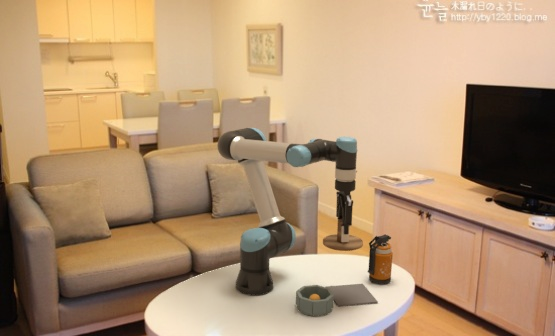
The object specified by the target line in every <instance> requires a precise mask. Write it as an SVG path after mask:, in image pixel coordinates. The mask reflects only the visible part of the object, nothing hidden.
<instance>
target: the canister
mask: <svg viewBox="0 0 555 336" xmlns="http://www.w3.org/2000/svg"><path fill="white" fill-rule="evenodd" d="M391 239H392V237H391V236H390V235H388V234H383V235H378V236H377V235H375V236H374V237H373V238H372V239H371V241H370V242H368V245H369V246H368V247H369V257H368V258H369V259H368V269H367V273H368V279H369V281H371V282H374V283H376V284H382V285H383V284H388V283H389V282H391V280H392V279H391V278H392V268H393V267H392V266H393V255H394V254H393V251H392V250H393V249H392V245H391V244H390V243H389V240H391Z"/></svg>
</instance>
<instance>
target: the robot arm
mask: <svg viewBox="0 0 555 336" xmlns="http://www.w3.org/2000/svg"><path fill="white" fill-rule="evenodd" d="M217 150H218V151H217V152H218V153H219V154H220V156H221V157H222V158H223V159H225V160H231V161H237V162H238V165H240V166H241V167H243V170H244V172H245V176H246V180H247V183H248V186H249V189H250V192H251V195H252V198H253V202H254V206H255V209H256V211H257V215H258V217H259V221H260V222H259V223H258V226H257V227H255V228H250V229H247V230H246V231H244V232H243V233H242V234H241V236H240V243H239V246H240V247H239V248H240V249H239V254H240V257H239V258H240V260H239V263H240V264H239V265H240V267H239V271H238V274H237V278H236V281H235V289H236V290H237V291H238V292H239V293H240V294H244V295H247V296H262V295H267V294H268V293H270V292H272V291H273V289H274V280H273V276H272V274H271V271H270V260H271V259H272V258H274V257H277V256H278V255H280V254H284V253H286V252H288V251H289V250H291V249H292V248H293V247H294V245H295V242H296V239H297V238H296V237H297V236H296V230H295V229H294V227H293V225H291V224H290V223H289V222H286V218H285V217H284V216H281V214H280V210H279V207H278V204H277V200H276V198H275V195H274V191H273V188H272V185H271V182H270V179H269V175H268V173H267V169H266V166H265V163H264V162H269V163H270V162H271V163H278V164H279V163H280V164H288V165H290V166H292V167H293V168H303V167H305V166H309V165H311V164H314V163H319V162H322V161H328V162H332V163H335V168H334V169H335V171H334V178H335V180H334V190H336V209H335V210H336V215H335V216H336V219H337V221H338V220H339V219H343V224H341V226H342V233H341V242H349V235H350V226H352V225H353V206H354V200H352V195H351V192H354V191H355V190H356V182H357V181H356V180H355V179H356V176H357V173H358V170H357V153H358V141H357V139H356V138H355V137H352V136H338V137H336V141H334V140H327V139H323V138H311V139H310V140H309V141H308V142H307V143H303V144H302V143H301V144H300V143H293V142H282V141H270V140H267V138H266V136H265V134H264V133H263V132H262V131H261V129H258V128H257V127H256V128H255V127H246V128H241V129H236V130H229V131H226V132H224V133H223V134H222V135H221V136H219V138H218V141H217Z"/></svg>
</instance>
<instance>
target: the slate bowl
mask: <svg viewBox="0 0 555 336" xmlns="http://www.w3.org/2000/svg"><path fill="white" fill-rule="evenodd" d="M312 294H317V295H319V297H320V299H321V300H311V299H309V297H310V296H311V295H312ZM334 304H335V302H334V294H333V293H332V291H331V290H330V289H329V288H326V286H322V285H319V284H313V285H310V284H309V285H303V286H301V287H300V288H298V289H297V290H296V292H295V305H296V309H297V311H298V310H299V311H298V312H299V313H301V314H302V313H303V314H302V315H305V316H308V315H310V317H323V316H327V315H329V314H330V313H331V312H332V311H333V309H334Z"/></svg>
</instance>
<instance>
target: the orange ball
mask: <svg viewBox="0 0 555 336" xmlns="http://www.w3.org/2000/svg"><path fill="white" fill-rule="evenodd" d="M309 299H311V300H321V299H320V297H319V295H317V294H312V295H311V296H310V297H309Z"/></svg>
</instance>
